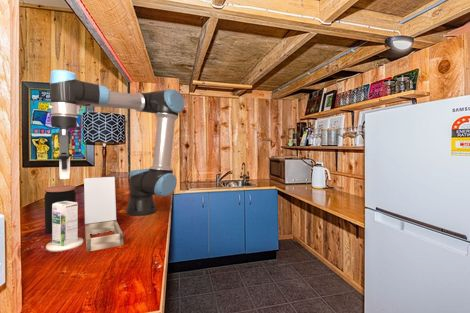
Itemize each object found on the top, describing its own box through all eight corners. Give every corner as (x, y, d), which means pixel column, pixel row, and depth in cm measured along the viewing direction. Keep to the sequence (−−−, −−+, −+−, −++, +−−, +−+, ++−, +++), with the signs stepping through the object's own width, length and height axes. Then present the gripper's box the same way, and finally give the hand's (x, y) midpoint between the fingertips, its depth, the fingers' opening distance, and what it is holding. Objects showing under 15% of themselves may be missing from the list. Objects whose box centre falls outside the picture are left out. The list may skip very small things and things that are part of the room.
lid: (116, 219, 106) (115, 219, 107) (114, 176, 109) (114, 177, 111) (84, 224, 100) (84, 224, 101) (84, 178, 103) (84, 178, 104)
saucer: (82, 237, 98) (82, 235, 98) (83, 247, 88) (83, 245, 88) (47, 242, 92) (47, 240, 92) (44, 254, 82) (44, 251, 82)
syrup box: (51, 244, 88) (50, 203, 88) (67, 238, 94) (67, 200, 93) (62, 246, 86) (62, 205, 86) (78, 240, 92) (78, 201, 91)
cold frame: (116, 229, 106) (116, 220, 106) (123, 244, 91) (123, 234, 91) (85, 234, 100) (84, 224, 100) (86, 251, 85) (86, 240, 85)
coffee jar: (60, 235, 99) (59, 190, 98) (38, 233, 101) (37, 188, 100) (82, 227, 109) (81, 186, 108) (61, 225, 111) (60, 184, 110)
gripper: (53, 118, 97) (54, 173, 98) (47, 111, 76) (49, 181, 77) (76, 119, 101) (77, 172, 102) (77, 113, 80) (78, 180, 81)
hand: (65, 176), depth 89 cm, fingers open, 13 cm apart
